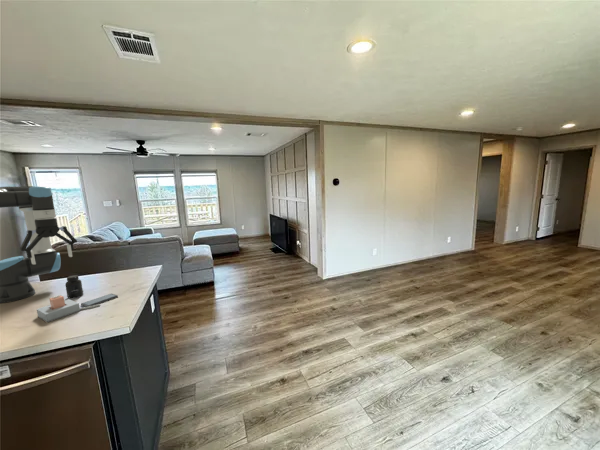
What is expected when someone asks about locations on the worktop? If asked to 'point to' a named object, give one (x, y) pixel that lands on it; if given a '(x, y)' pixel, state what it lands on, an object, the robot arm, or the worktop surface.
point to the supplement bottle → (74, 287)
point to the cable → (90, 307)
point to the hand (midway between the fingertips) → (53, 260)
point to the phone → (99, 300)
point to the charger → (57, 302)
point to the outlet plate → (58, 311)
